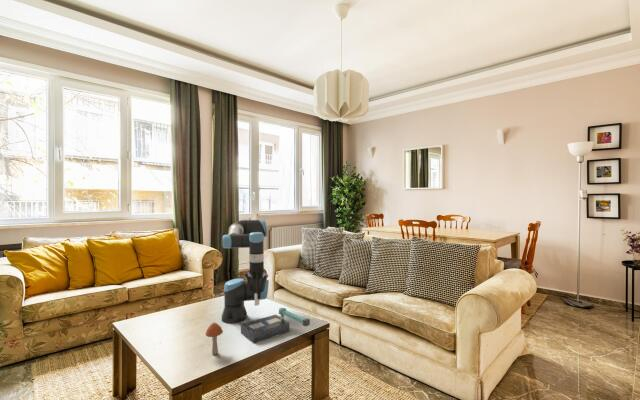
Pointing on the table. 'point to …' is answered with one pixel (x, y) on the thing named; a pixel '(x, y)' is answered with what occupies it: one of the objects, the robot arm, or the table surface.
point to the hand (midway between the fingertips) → (256, 304)
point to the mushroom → (214, 335)
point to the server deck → (265, 328)
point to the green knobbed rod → (294, 317)
